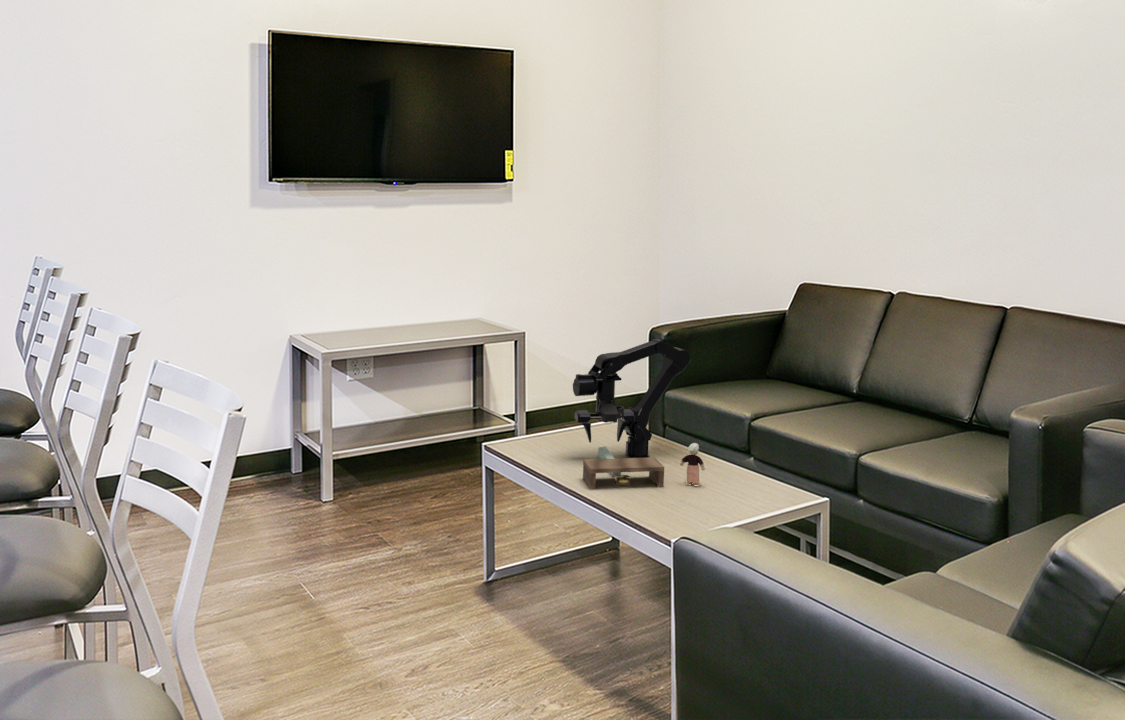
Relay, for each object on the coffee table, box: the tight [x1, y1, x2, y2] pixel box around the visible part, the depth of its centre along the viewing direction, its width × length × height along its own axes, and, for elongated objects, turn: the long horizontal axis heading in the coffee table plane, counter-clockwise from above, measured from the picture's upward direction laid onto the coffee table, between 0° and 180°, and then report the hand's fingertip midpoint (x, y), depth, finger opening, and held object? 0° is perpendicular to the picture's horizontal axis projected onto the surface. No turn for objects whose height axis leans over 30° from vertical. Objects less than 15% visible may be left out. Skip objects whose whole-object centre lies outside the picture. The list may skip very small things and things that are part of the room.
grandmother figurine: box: [679, 442, 706, 485], centre depth 279 cm, size 8×4×13 cm, turn 71°
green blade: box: [597, 446, 622, 478], centre depth 296 cm, size 2×22×4 cm, turn 10°
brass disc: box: [614, 474, 631, 486], centre depth 280 cm, size 4×4×2 cm
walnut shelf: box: [582, 456, 665, 490], centre depth 279 cm, size 22×10×6 cm, turn 101°
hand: (604, 441), depth 303 cm, fingers open, 9 cm apart
